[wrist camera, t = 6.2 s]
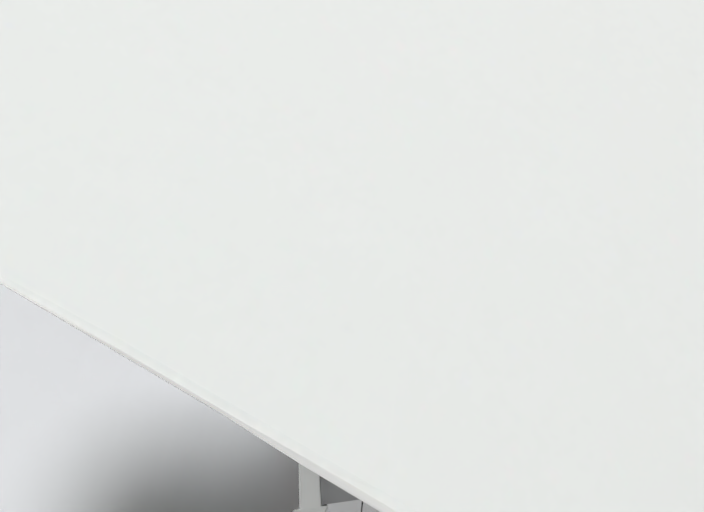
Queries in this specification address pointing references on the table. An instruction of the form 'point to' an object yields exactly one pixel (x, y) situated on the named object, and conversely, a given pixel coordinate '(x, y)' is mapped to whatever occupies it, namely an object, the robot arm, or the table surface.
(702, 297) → the supplement box
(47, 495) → the table surface
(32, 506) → the table surface
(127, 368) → the table surface
